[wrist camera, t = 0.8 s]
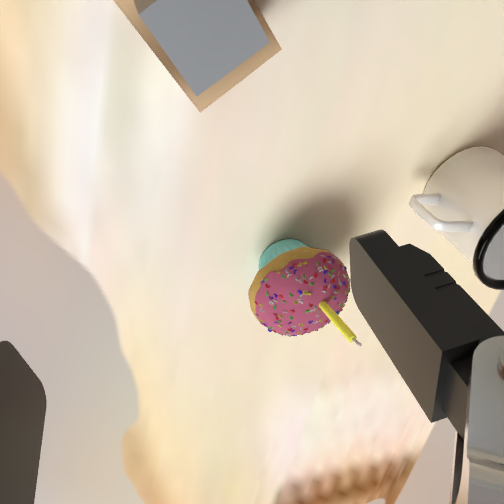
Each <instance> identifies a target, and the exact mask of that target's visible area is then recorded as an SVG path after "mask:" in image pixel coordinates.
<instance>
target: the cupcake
mask: <svg viewBox="0 0 504 504" xmlns="http://www.w3.org/2000/svg"><path fill="white" fill-rule="evenodd" d="M346 269H347V268H346V267H345V266H344V264H343V263H342V262H341V261H340V260H339V259H338V258H337V257H336V256H335V255H333V254H332V253H331V252H329V251H327V250H320V249H315V248H310V247H308V246H307V245H305V244H304V243H302V242H301V241H298V240H295V239H285V240H281V241H278V242H276V243H274V244H272V245H271V246H269V247H268V248H267V249H266V250H265V251H264V253H263V254H262V256H261V258H260V262H259V271H258V273H257V274H256V276H255V278H254V281H253V283H252V285H251V287H250V289H249V300H250V306H251V310H252V312H253V314H254V315H255V317H256V318H257V319H258V321H259V322H260V323H261V324H262V325H264V326H265V327H267V328H268V331H269V332H271V331H274V332H275V333H279V334H281V335H285V336H286V335H287V336H289V335H290V336H297V335H299V334H300V335H303V334H305V333H310V332H312V331H314V330H315V331H318V329H319V328H322V327H324V325H326V324H327V323H328V324H329V323H330V321H332V322H333V324H334V325H335V326H336V327H337V328H338V329H339V331H340V332H341V333H342V334H343V335H344V336H345V338H346V339H347V340H348V341H349V342H355V343H356V344H357V345H359V346H361V345H362V344H361V343H359V342H358V341H357V340H356V335H355V334H354V333H353V332H352V331H351V330H350V328H349V327H348V326H347V325H346V324H345V323H344V322H343V321H342V320H341V318H340V317H339V316H338V315H339V312H340V311H342V310H343V309H342V308H343V307H344V306H345V304H344V303H346V302H347V299H348V298H347V296H348V293H349V292H350V281H349V280H350V278H349V277H348V274H347V271H346ZM269 329H270V330H271V331H270V330H269ZM290 336H289V337H290Z"/></svg>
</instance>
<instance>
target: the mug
mask: <svg viewBox="0 0 504 504" xmlns="http://www.w3.org/2000/svg"><path fill="white" fill-rule="evenodd" d="M409 205H410V207H411V208H412V209H413V210H414V212H415V213H416V214H417V215H418V216H419V217H420V218H421V219H422V220H424V221H425V222H426V223H427V224H428V225H429V226H430V227H432V228H433V229H435V230H437V231H438V232H439V233H440V234H441V235H442V236H443V237H444V238H445V239H446V240H447V241H449V242H450V243H451V244H452V245H453V246H454V247H455V248H456V249H457V250H458V251H459V252H460V253H461V254H462V255H463V256H465V257H466V258H467V259H468V260H469V261H470V262H471V263H472V264H473V270H474V273H475V276H476V277H477V278H478V279H479V281H481V282H482V283H483V284H485V285H486V286H488V287H489V288H493V289H497V290H504V155H503V154H501V153H500V152H498V151H496V150H494V149H492V148H490V147H484V146H479V147H472V148H468V149H465V150H463V151H461V152H458V153H457V154H455V155H454V156H452V157H450V158H449V159H448V160H446V161H445V162H444V163H443V164H442V165H441V166H440V167H439V168H438V169H437V170H436V171H435V172H434V174H433V175H432V177H431V178H430V179H429V181H428V183H427V185H426V187H425V189H424V192H423V194H417V195H413V196H412V197H411V200H410V202H409Z"/></svg>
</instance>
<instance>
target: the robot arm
mask: <svg viewBox="0 0 504 504" xmlns="http://www.w3.org/2000/svg"><path fill="white" fill-rule="evenodd" d="M350 271H351V288H352V293H353V296H354V299H355V302H356V304H357V306H358V308H359V310H360V312H361V313H362V315H363V316H364V318H365V319H366V321H367V323H368V324H369V326H370V327H371V329H372V330H373V332H374V334H375V335H376V337H377V338H378V340H379V341H380V343H381V345H382V346H383V348H384V349H385V351H386V352H387V354H388V356H389V357H390V359H391V360H392V362H393V363H394V365H395V367H396V368H397V370H398V371H399V373H400V374H401V376H402V378H403V379H404V381H405V382H406V384H407V385H408V387H409V389H410V390H411V392H412V393H413V395H414V397H415V398H416V400H417V401H418V403H419V404H420V406H421V408H422V409H423V411H424V412H425V414H426V415H427V417H428V419H429V420H430V422H431V423H432V422H435V421H438V420H441V419H444V418H447V417H448V419H449V420H450V422H451V423H452V424H453V426H454V427H455V429H456V435H455V444H454V456H453V469H452V479H451V491H450V502H449V504H504V331H502V329H500V327H498V325H497V324H496V323H495V322H494V321H493V320H492V319H491V318H490V317H489V316H488V315H487V314H486V313H485V312H484V311H483V309H482V308H481V307H480V306H479V305H478V304H477V303H476V302H475V301H474V300H473V299H472V298H471V297H470V296H469V295H468V294H467V293H466V292H465V290H464V289H463V288H462V287H461V286H460V285H457V284H456V281H455V280H454V279H453V278H452V277H451V276H450V275H449V274H448V273H447V272H445V271H444V268H443V267H442V266H441V265H440V264H439V263H438V262H437V261H436V260H435V259H434V258H433V257H432V256H431V255H430V254H429V253H427V252H425V251H423V250H421V249H419V248H417V247H415V246H413V245H411V244H407V245H403V246H400V247H399V246H398V245H397V244H396V243H395V242H394V241H393V239H392V238H391V237H390V236H389V235H388V234H387V233H386V232H385V231H384V230H377V231H374V232H371V233H367V234H364V235H361V236H357V237H354V238H351V240H350ZM45 412H46V395H45V391H44V388H43V385H42V383H41V381H40V380H39V378H38V377H37V376H36V374H35V373H34V372H33V370H32V369H31V368H30V367H29V365H28V364H27V363H26V361H25V360H24V359H23V358H22V356H21V355H20V354H19V352H18V351H17V350H16V349H15V348H14V346H13V345H12V344H11V343H10V342H8V341H2V342H0V504H34V498H35V490H36V483H37V475H38V467H39V459H40V451H41V444H42V436H43V428H44V420H45Z"/></svg>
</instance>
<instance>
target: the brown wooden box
mask: <svg viewBox="0 0 504 504" xmlns="http://www.w3.org/2000/svg"><path fill="white" fill-rule="evenodd" d="M114 1H115V3H116V4H117V5H118V7H119V8H120V9H121V11H122V12H123V13H124V14H125V16H126V17H127V18H128V20H129V21H130V22H131V24H132V25H133V26H134V27H135V29H136V30H137V31H138V33H139V34H140V35H141V36H142V38H143V39H144V40H145V42H146V43H147V44H148V46H149V47H150V48H151V49H152V51H153V52H154V53H155V55H156V56H157V57H158V58H159V60H160V61H161V62H162V64H163V65H164V66H165V68H166V69H167V70H168V71H169V73H170V74H171V75H172V77H173V78H174V79H175V81H176V82H177V83H178V84H179V86H180V87H181V88H182V90H183V91H184V92H185V93H186V95H187V96H188V97H189V99H190V100H191V101H192V103H193V104H194V105H195V106H196V108H197V109H198V110H199V112H202V111H203V110H204V109H205V108H207V107H208V106H209V105H211V104H212V103H213V102H214V101H216V100H217V99H218V98H220V97H221V96H222V95H223V94H225V93H226V92H227V91H229V90H230V89H231V88H233V87H234V86H235V85H236V84H238V83H239V82H240V81H242V80H243V79H244V78H245V77H247V76H248V75H249V74H251V73H252V72H253V71H254V70H256V69H257V68H258V67H260V66H261V65H262V64H263V63H265V62H266V61H267V60H269V59H270V58H271V57H272V56H274V55H275V54H276V53H278V52H279V51H280V50H281V47H280V45H279V44H278V42H277V40H276V38H275V37H274V35H273V33H272V31H271V30H270V28H269V26H268V24H267V22H266V21H265V19H264V17H263V15H262V14H261V12H260V10H259V8H258V7H257V5H256V3H255V1H254V0H247V1H248V3H249V5H250V6H251V8H252V10H253V12H254V14H255V16H256V17H257V19H258V21H259V23H260V25H261V27H262V29H263V30H264V32H265V34H266V36H267V38H268V40H269V42H270V43H269V44H267V45H266V46H265V47H263V48H262V49H261V50H259V51H258V52H257V53H255V54H254V55H253V56H251V57H250V58H249V59H247V60H246V61H244V62H243V63H242V64H240V65H239V66H238V67H236V68H235V69H234V70H232V71H231V72H230V73H228V74H227V75H226V76H224V77H223V78H221V79H220V80H219V81H217V82H216V83H215V84H213V85H212V86H211V87H209V88H208V89H207V90H205V91H204V92H203V93H201V94H200V95H198V96H196V95H195V93H194V92H193V91H192V89H191V88H190V86H189V85H188V84H187V82H186V81H185V79H184V78H183V77H182V75H181V74H180V72H179V71H178V70H177V68H176V67H175V65H174V64H173V63H172V61H171V60H170V58H169V57H168V56H167V54H166V53H165V51H164V50H163V49H162V47H161V46H160V44H159V43H158V41H157V40H156V39H155V37H154V36H153V34H152V33H151V32H150V30H149V29H148V27H147V26H146V25H145V23H144V22H143V20H142V19H141V18H140V16H139V15H138V12H137V9H136V6H135V3H134V1H133V0H114Z"/></svg>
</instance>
